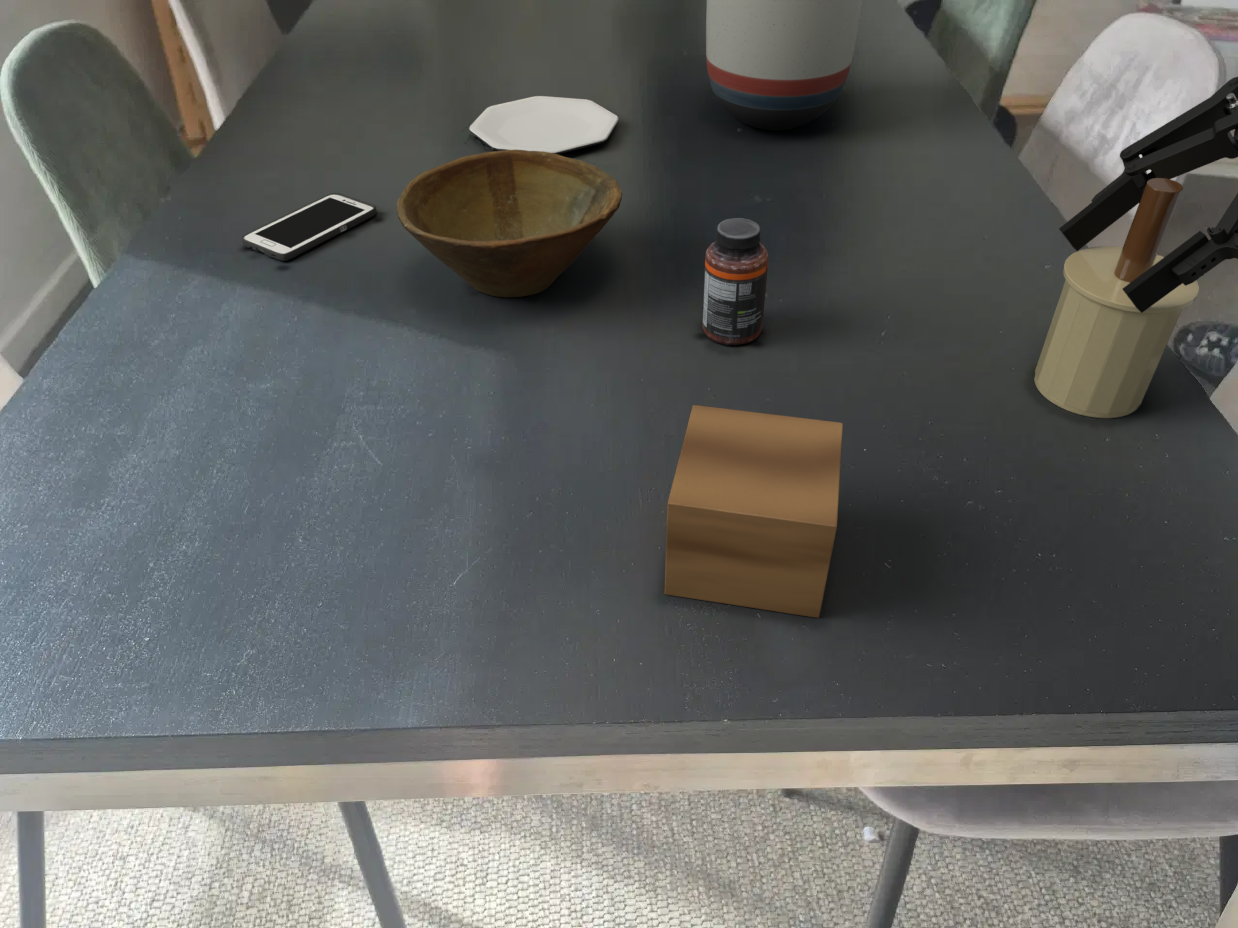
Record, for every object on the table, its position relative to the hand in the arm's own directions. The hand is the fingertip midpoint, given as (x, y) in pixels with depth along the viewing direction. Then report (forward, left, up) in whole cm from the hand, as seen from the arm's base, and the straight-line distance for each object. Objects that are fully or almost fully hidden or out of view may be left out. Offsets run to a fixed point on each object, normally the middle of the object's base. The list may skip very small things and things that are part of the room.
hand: (1098, 269), depth 78 cm
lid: (+1, -3, -1) cm, 3 cm away
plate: (+50, +62, -13) cm, 81 cm away
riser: (-26, +25, -12) cm, 38 cm away
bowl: (+10, +54, -13) cm, 56 cm away
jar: (+1, -3, -12) cm, 13 cm away
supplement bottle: (+4, +30, -13) cm, 33 cm away
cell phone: (+16, +81, -12) cm, 84 cm away
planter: (+60, +31, -13) cm, 69 cm away
